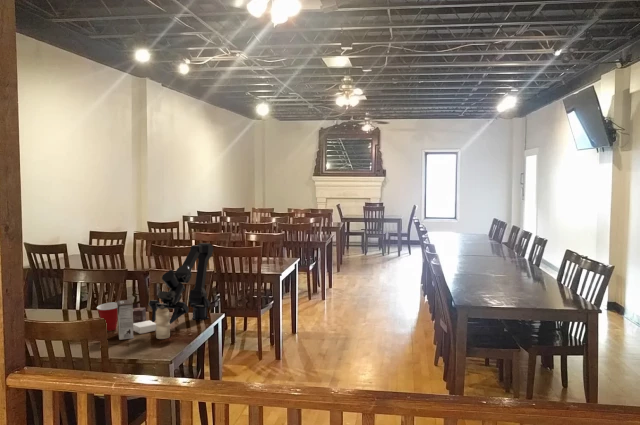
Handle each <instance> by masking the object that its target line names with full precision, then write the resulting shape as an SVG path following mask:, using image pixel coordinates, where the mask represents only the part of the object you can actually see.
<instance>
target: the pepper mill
mask: <svg viewBox="0 0 640 425" xmlns="http://www.w3.org/2000/svg"><path fill="white" fill-rule="evenodd" d="M170 319H171V317H170V310H169V308H165V306H164V305H161V306H160V308H158V309H157V311H156V320H155V323H156V331H155V338H156V339H159V340H164V339H168V338H170V337H171V327H170V326H171V325H170V323H169V322H170Z"/></svg>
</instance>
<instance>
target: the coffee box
mask: <svg viewBox="0 0 640 425" xmlns="http://www.w3.org/2000/svg"><path fill="white" fill-rule="evenodd" d="M116 303H117V314H118V321H117V329H118V330H117V334H118V340H119V341H121V340H128V339H134V331H133V308H134V307H133V306H134V305H133V301H132V299H122V300H121V299H120V300H116Z"/></svg>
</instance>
